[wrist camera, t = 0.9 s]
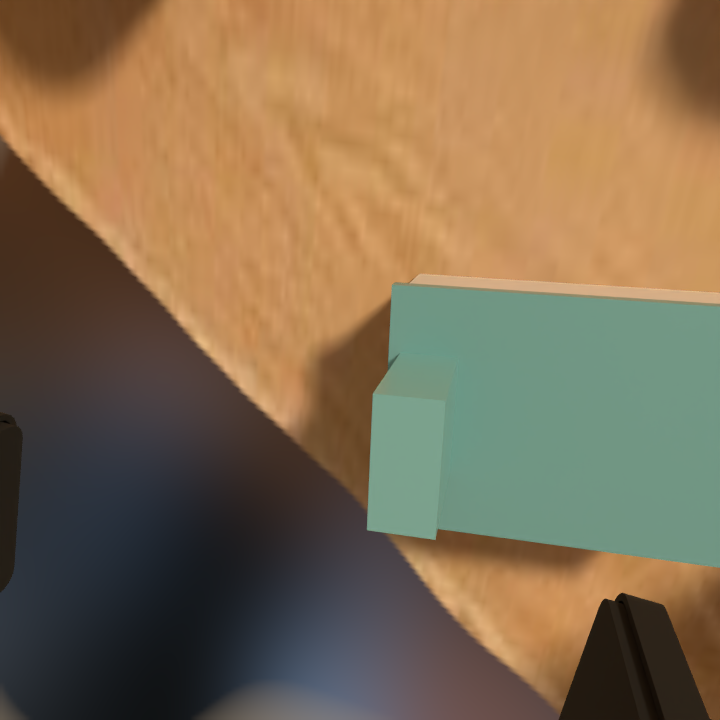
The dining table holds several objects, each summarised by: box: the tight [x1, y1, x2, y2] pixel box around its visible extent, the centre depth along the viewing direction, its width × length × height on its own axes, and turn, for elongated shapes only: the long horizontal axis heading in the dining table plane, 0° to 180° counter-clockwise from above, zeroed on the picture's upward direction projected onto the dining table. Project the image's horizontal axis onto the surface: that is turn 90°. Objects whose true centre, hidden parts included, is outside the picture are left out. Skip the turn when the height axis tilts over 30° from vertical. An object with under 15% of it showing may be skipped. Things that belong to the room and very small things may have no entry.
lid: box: [367, 282, 720, 568], centre depth 25 cm, size 15×11×8 cm
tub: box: [410, 274, 720, 304], centre depth 31 cm, size 14×10×6 cm
